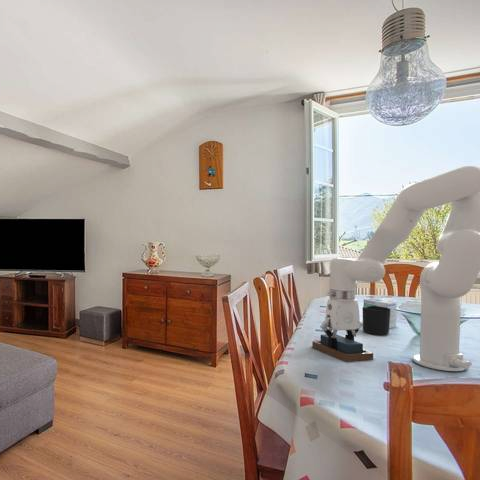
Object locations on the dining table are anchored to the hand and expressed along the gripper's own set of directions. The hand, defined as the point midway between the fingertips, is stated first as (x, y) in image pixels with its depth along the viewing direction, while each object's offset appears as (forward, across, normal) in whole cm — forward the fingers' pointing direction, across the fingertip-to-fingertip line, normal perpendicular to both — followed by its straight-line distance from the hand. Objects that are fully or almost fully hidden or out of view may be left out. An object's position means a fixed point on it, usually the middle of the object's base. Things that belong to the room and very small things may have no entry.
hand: (340, 347), depth 135 cm
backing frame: (+2, 0, 0) cm, 2 cm away
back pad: (+1, 0, 0) cm, 1 cm away
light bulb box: (+2, +45, +29) cm, 54 cm away
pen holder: (+2, +33, +19) cm, 38 cm away
